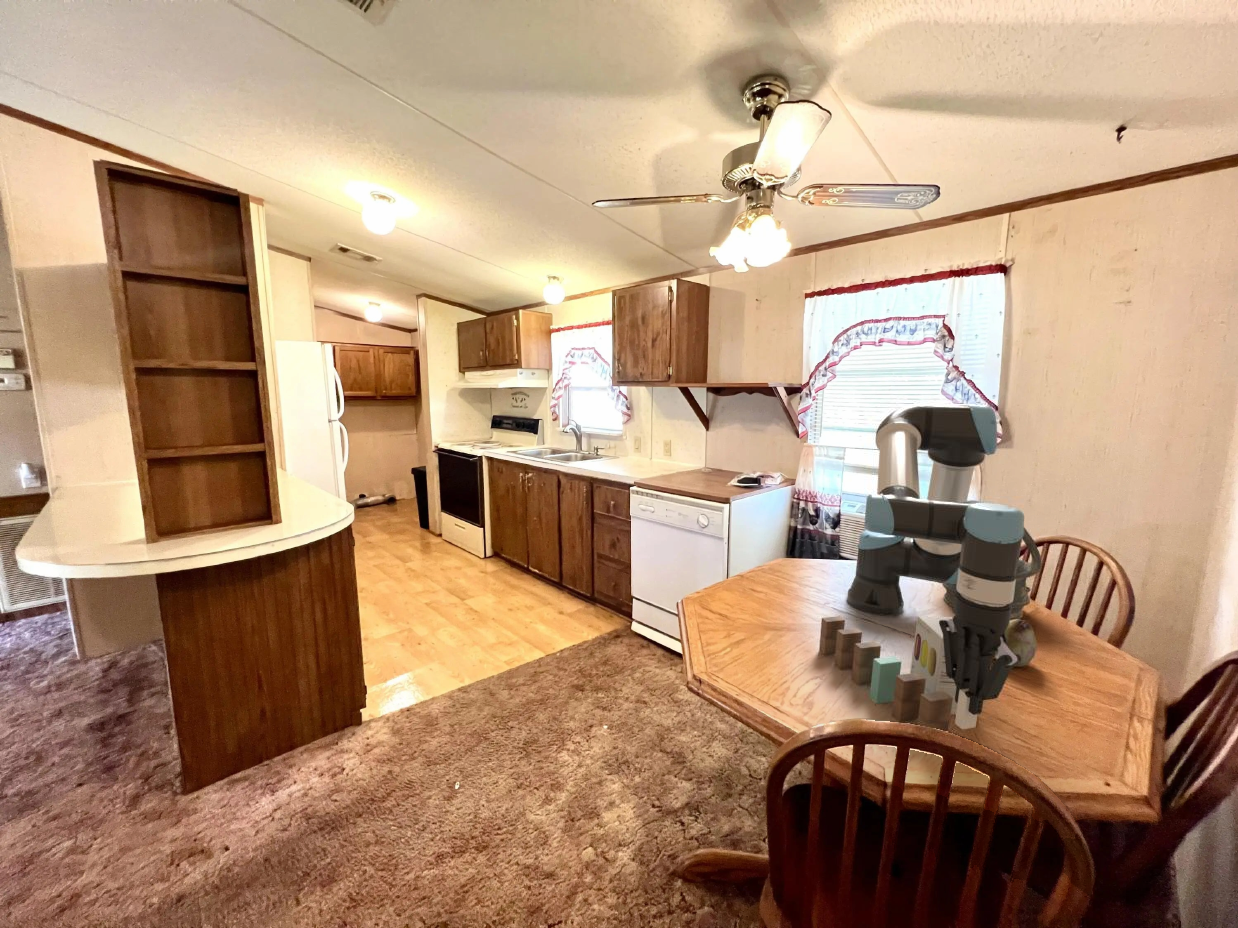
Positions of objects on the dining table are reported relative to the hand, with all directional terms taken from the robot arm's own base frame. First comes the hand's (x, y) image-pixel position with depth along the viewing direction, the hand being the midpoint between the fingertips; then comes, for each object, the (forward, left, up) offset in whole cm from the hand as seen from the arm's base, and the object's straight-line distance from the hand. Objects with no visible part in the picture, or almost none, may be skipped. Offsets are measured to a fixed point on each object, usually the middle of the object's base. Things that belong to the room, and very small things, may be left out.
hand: (965, 725), depth 83 cm
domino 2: (0, -30, -8) cm, 31 cm away
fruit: (-40, -24, -8) cm, 47 cm away
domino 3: (0, -24, -8) cm, 25 cm away
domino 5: (0, -6, -8) cm, 10 cm away
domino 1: (0, -36, -8) cm, 37 cm away
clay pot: (-61, -49, -8) cm, 79 cm away
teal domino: (0, -18, -8) cm, 20 cm away
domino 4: (0, -12, -8) cm, 14 cm away
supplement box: (-12, -15, -8) cm, 21 cm away
